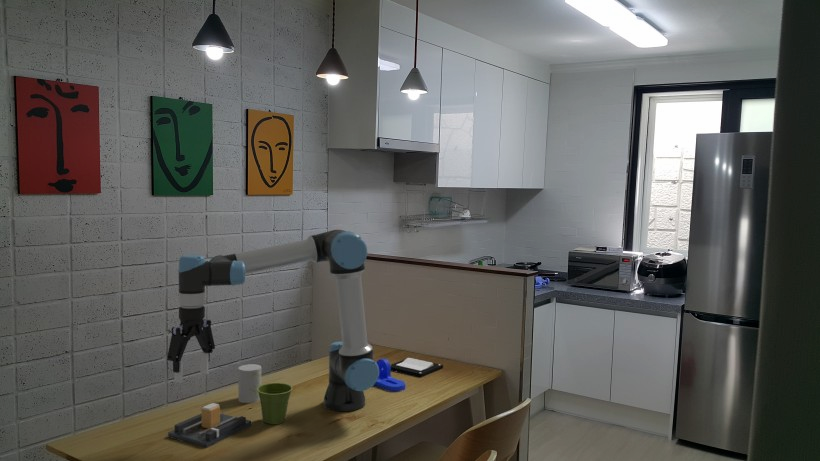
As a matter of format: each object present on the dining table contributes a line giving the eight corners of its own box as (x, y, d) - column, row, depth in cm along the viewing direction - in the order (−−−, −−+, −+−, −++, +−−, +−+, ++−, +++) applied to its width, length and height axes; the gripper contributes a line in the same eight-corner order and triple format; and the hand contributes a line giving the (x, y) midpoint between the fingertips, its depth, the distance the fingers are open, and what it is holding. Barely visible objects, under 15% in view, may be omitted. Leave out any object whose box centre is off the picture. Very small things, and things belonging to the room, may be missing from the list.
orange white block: (220, 424, 198) (220, 404, 198) (210, 429, 194) (210, 409, 194) (211, 422, 200) (211, 402, 200) (201, 426, 196) (201, 406, 196)
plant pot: (274, 430, 199) (275, 396, 198) (248, 422, 205) (249, 389, 205) (299, 419, 209) (300, 386, 208) (274, 411, 215) (274, 380, 215)
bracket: (364, 382, 251) (364, 360, 250) (379, 378, 257) (379, 356, 256) (394, 393, 238) (395, 370, 238) (409, 388, 244) (410, 366, 243)
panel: (251, 425, 203) (251, 417, 203) (206, 447, 185) (206, 439, 185) (214, 416, 210) (214, 408, 210) (168, 437, 192) (168, 428, 192)
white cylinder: (255, 404, 222) (255, 371, 222) (234, 401, 224) (234, 369, 223) (264, 396, 230) (265, 365, 230) (244, 394, 232) (244, 363, 231)
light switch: (443, 361, 273) (421, 370, 258) (443, 369, 273) (421, 378, 258) (409, 354, 283) (386, 362, 268) (409, 361, 283) (385, 370, 269)
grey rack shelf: (246, 422, 201) (246, 416, 201) (210, 440, 187) (210, 433, 186) (210, 414, 208) (210, 407, 208) (173, 430, 193) (173, 423, 193)
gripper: (209, 299, 199) (209, 366, 200) (153, 310, 179) (153, 385, 180) (227, 301, 196) (227, 370, 197) (171, 313, 176) (172, 390, 177)
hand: (191, 377), depth 189 cm, fingers open, 10 cm apart
